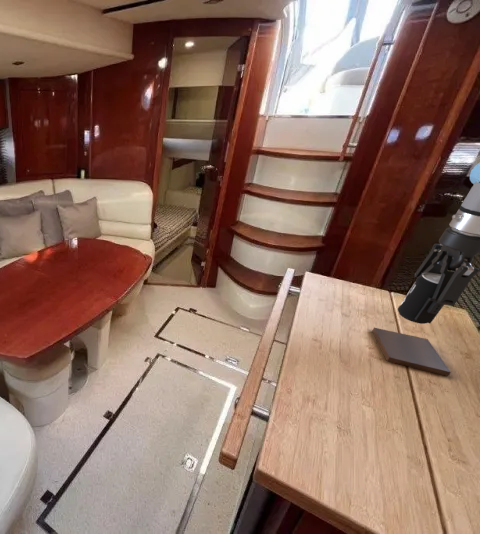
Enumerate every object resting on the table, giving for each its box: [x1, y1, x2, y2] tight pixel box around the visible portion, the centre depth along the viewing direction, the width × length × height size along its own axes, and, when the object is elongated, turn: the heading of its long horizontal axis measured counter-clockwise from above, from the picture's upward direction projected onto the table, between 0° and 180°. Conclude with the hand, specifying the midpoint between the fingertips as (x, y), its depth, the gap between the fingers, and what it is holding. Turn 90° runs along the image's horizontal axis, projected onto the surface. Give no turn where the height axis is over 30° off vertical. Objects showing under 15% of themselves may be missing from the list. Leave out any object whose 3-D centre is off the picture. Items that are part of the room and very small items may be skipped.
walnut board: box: [371, 327, 452, 377], centre depth 84 cm, size 12×13×2 cm
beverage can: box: [397, 273, 442, 325], centre depth 77 cm, size 7×7×12 cm
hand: (416, 312), depth 79 cm, fingers closed on beverage can, 6 cm apart
